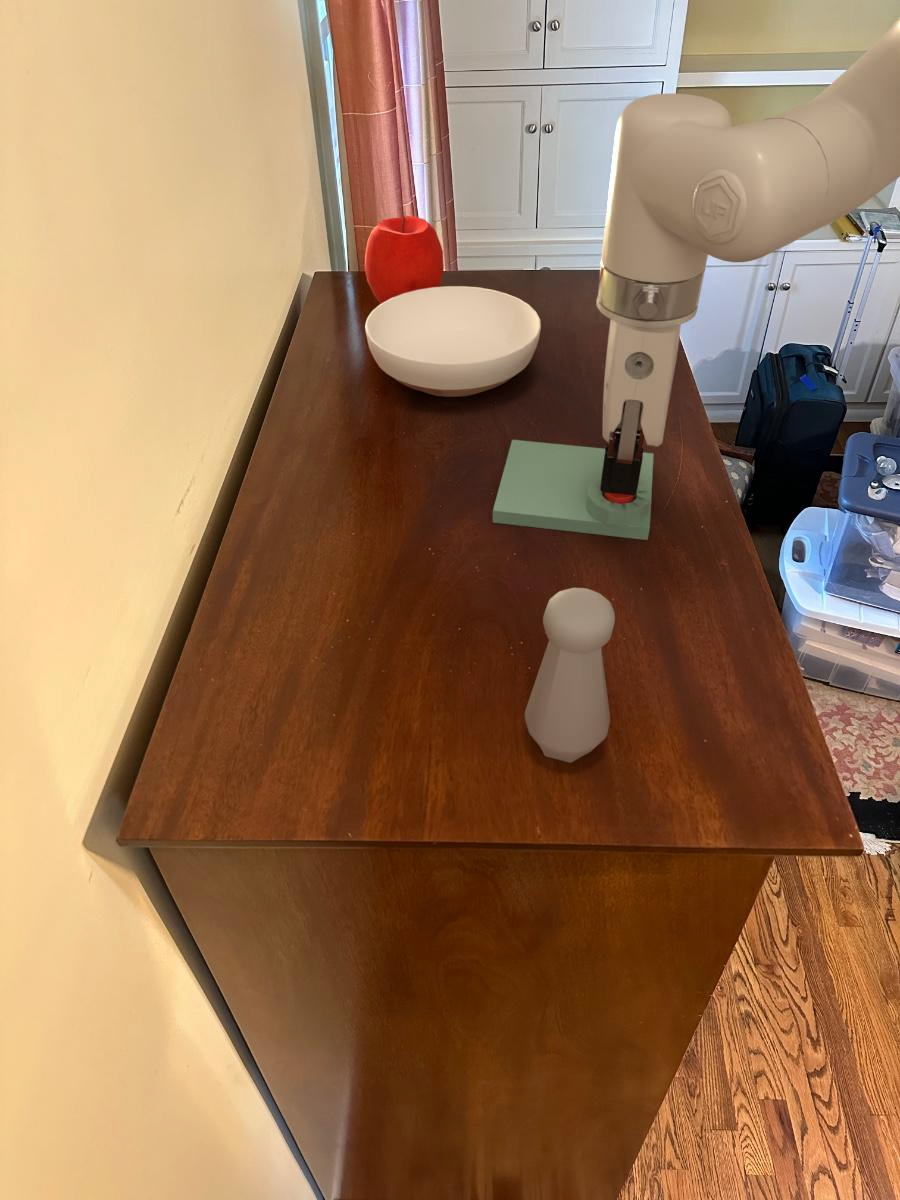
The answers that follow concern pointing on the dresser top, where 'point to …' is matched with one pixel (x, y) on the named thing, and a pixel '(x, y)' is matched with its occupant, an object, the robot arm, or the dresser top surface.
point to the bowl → (453, 339)
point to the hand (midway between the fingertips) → (618, 488)
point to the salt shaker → (572, 676)
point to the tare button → (618, 498)
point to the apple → (403, 257)
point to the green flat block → (568, 492)
